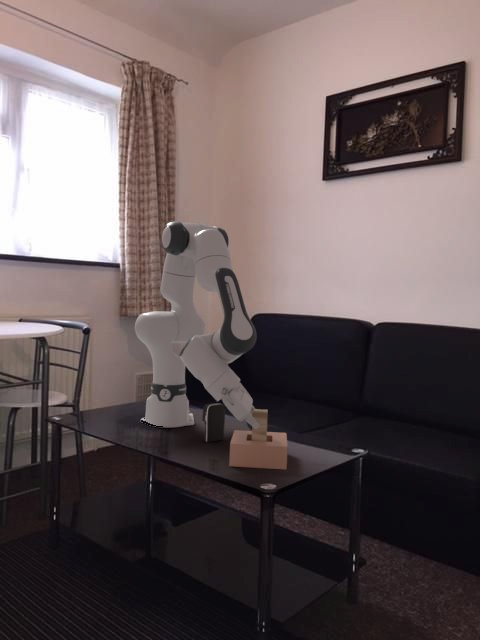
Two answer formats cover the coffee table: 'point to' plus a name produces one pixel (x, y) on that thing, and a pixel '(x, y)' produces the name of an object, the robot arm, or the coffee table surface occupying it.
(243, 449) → the terracotta socket block
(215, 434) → the battery charger
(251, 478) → the coffee table surface
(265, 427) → the maple pin
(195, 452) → the coffee table surface
